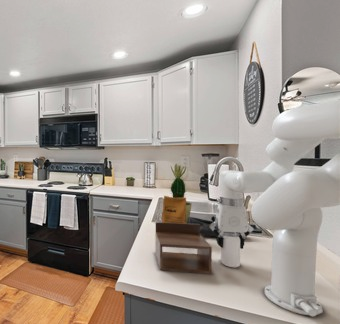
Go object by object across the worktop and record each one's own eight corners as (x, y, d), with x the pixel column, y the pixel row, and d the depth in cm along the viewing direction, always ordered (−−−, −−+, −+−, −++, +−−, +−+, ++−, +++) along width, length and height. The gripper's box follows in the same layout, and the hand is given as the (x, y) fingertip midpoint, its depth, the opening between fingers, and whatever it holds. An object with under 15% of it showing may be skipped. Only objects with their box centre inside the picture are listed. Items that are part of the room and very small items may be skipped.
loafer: (252, 241, 110) (252, 221, 109) (190, 238, 114) (190, 218, 114) (241, 233, 120) (241, 215, 120) (184, 231, 125) (185, 213, 124)
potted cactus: (163, 222, 141) (164, 175, 140) (190, 224, 136) (191, 175, 135) (162, 229, 127) (163, 177, 126) (192, 233, 122) (193, 178, 120)
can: (222, 266, 86) (223, 236, 85) (218, 259, 92) (219, 230, 92) (242, 269, 84) (242, 237, 83) (236, 261, 90) (237, 232, 90)
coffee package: (163, 233, 121) (163, 193, 120) (188, 238, 114) (188, 196, 113) (158, 239, 113) (158, 196, 112) (184, 245, 106) (184, 199, 105)
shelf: (211, 274, 81) (211, 236, 80) (160, 270, 84) (160, 233, 83) (199, 256, 95) (199, 223, 94) (155, 253, 98) (155, 222, 97)
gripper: (211, 203, 85) (210, 249, 85) (261, 204, 82) (260, 252, 83) (204, 199, 92) (203, 241, 93) (250, 200, 89) (249, 244, 90)
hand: (230, 246), depth 88 cm, fingers closed on can, 6 cm apart
